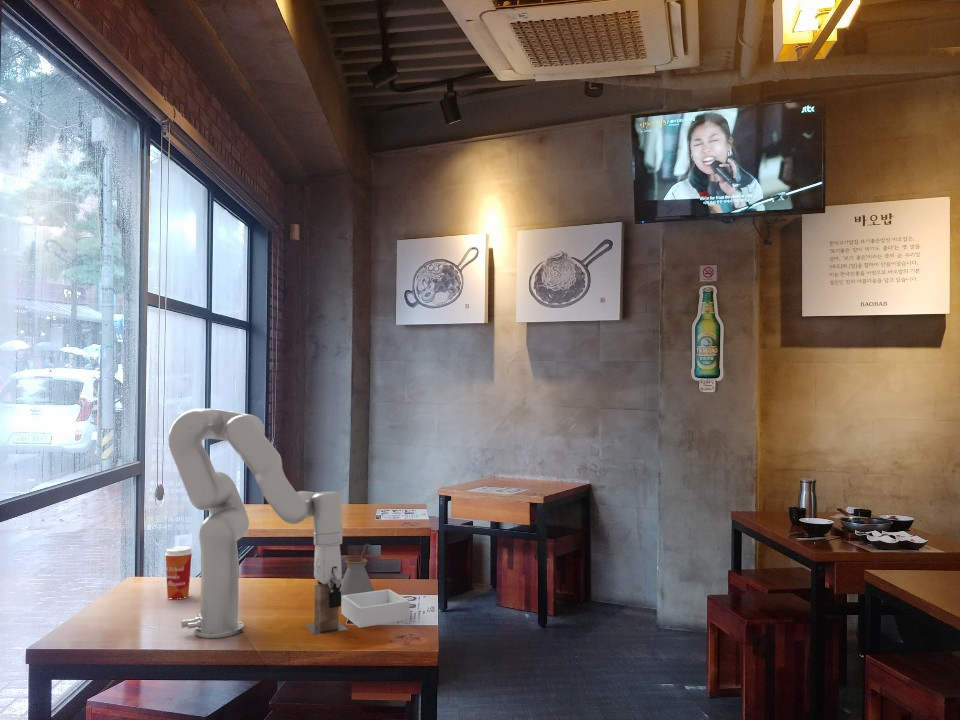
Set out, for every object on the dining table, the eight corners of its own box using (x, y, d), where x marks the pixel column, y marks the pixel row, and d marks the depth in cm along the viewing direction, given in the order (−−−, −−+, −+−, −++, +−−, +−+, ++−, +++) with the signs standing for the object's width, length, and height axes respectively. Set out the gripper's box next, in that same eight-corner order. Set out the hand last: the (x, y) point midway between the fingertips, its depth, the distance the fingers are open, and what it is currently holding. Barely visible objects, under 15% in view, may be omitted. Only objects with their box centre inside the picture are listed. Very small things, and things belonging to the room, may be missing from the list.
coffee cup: (157, 599, 229) (158, 550, 230) (175, 592, 237) (176, 545, 238) (180, 601, 227) (181, 552, 228) (198, 594, 235) (199, 546, 235)
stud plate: (314, 638, 193) (315, 617, 193) (304, 629, 201) (305, 608, 201) (348, 633, 197) (348, 612, 197) (337, 624, 205) (337, 604, 205)
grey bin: (359, 631, 199) (359, 608, 199) (341, 616, 212) (341, 595, 212) (409, 623, 206) (409, 601, 206) (389, 609, 219) (389, 589, 219)
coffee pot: (370, 608, 220) (370, 557, 220) (332, 608, 221) (332, 556, 221) (385, 590, 241) (385, 543, 242) (350, 589, 242) (350, 542, 243)
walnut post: (320, 631, 195) (320, 589, 196) (314, 626, 200) (314, 584, 200) (338, 628, 198) (338, 586, 198) (332, 623, 202) (332, 582, 203)
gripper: (305, 535, 206) (306, 597, 205) (324, 545, 191) (325, 613, 190) (331, 532, 209) (332, 593, 209) (352, 541, 194) (353, 608, 194)
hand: (329, 602), depth 199 cm, fingers open, 9 cm apart
